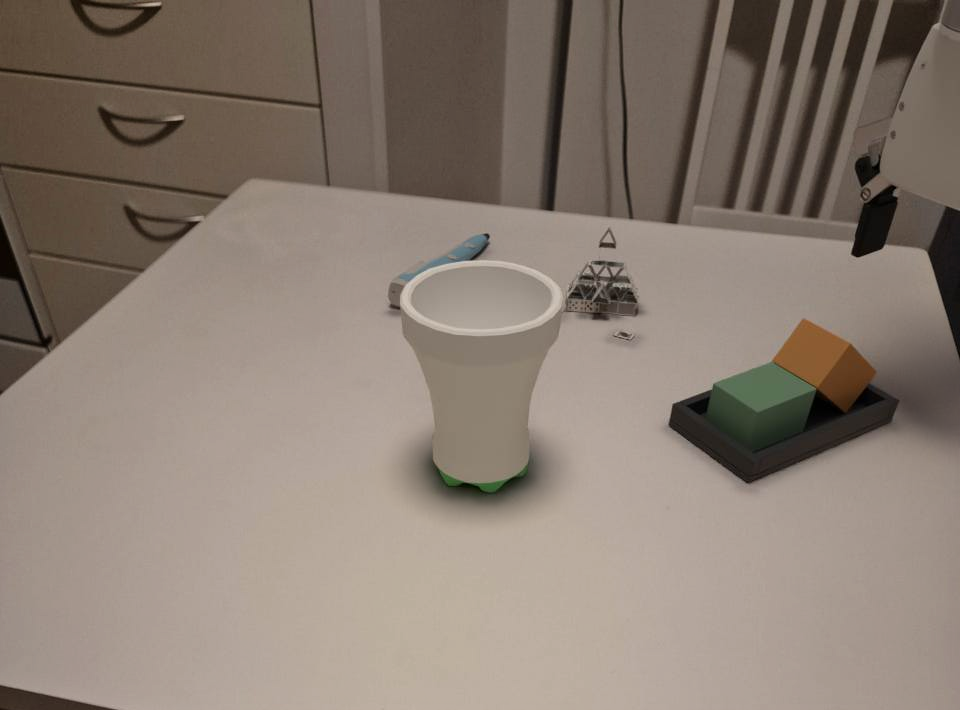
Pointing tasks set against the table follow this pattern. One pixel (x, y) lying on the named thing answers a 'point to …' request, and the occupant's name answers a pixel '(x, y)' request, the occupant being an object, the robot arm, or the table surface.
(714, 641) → the table surface
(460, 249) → the blue elongated piece
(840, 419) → the tray
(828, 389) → the block orange
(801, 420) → the green block
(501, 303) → the cup
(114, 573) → the table surface
